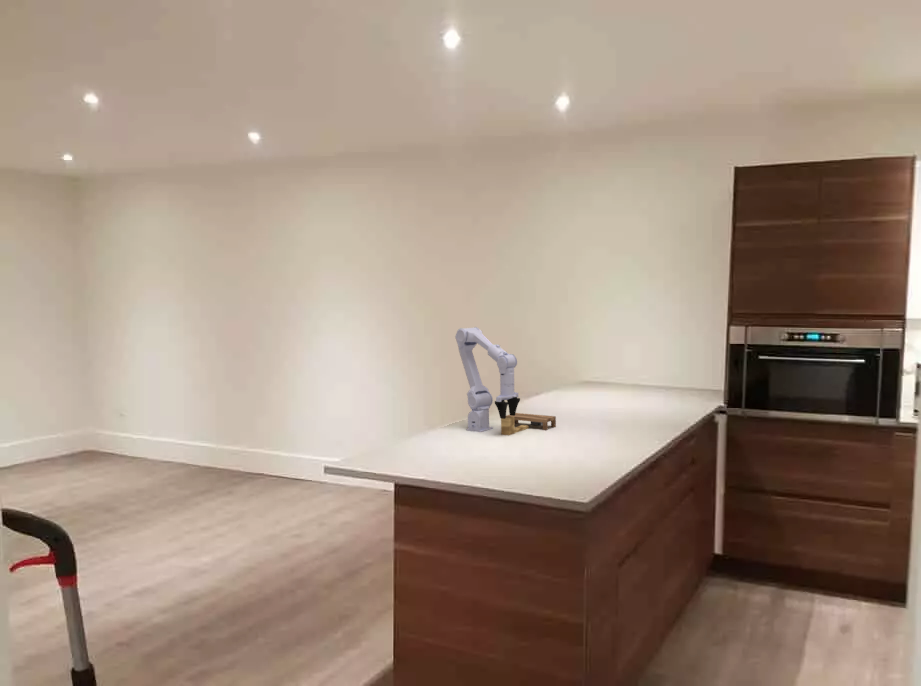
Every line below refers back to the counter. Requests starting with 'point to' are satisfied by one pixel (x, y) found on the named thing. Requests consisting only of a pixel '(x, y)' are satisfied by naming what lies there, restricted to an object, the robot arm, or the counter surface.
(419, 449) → the counter surface
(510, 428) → the tool
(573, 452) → the counter surface
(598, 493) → the counter surface
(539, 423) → the plate
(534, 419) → the shelf
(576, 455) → the counter surface
